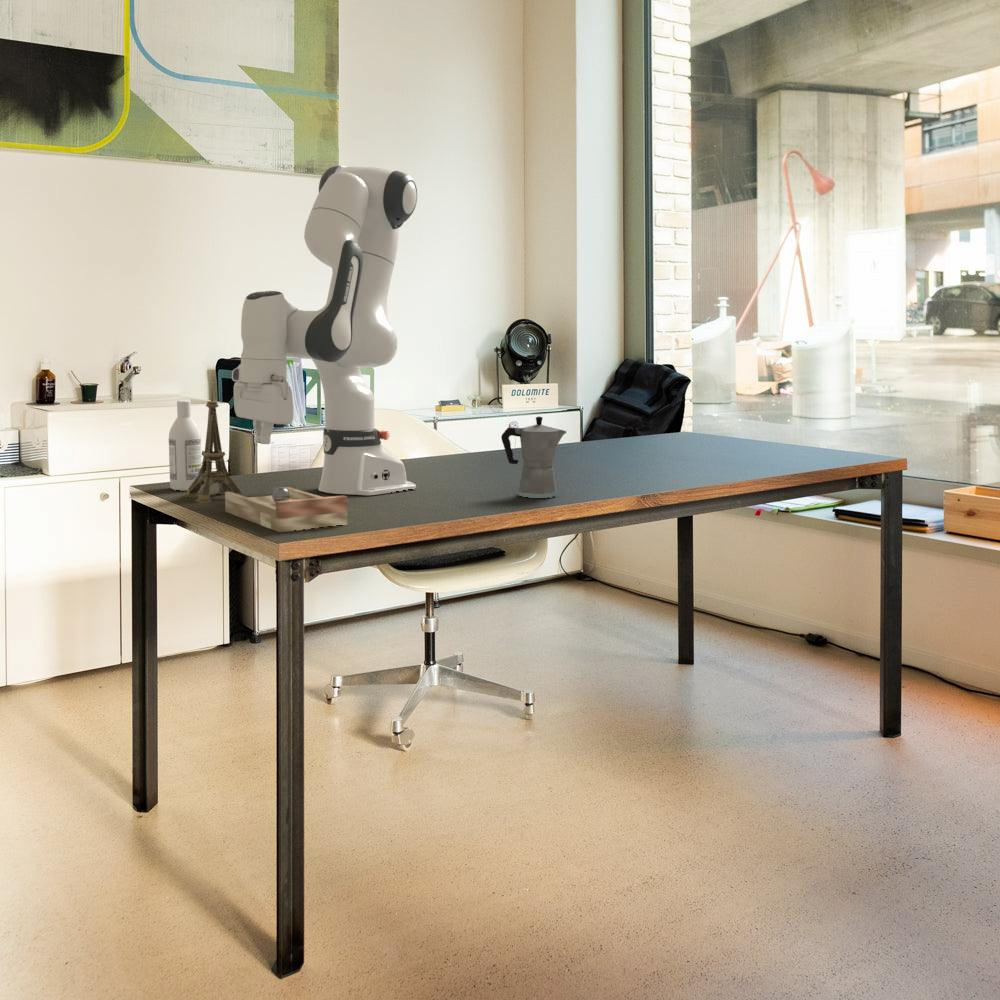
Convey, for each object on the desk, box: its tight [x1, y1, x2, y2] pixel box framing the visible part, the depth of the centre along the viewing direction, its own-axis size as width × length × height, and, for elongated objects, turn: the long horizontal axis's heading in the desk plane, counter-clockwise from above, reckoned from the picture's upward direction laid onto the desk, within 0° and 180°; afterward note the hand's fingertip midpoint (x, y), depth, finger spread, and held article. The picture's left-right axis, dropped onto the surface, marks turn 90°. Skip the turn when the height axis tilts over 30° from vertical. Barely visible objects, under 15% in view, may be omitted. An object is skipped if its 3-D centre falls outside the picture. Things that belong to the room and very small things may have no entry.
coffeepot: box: [501, 416, 567, 494], centre depth 245 cm, size 15×9×18 cm, turn 109°
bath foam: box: [168, 399, 203, 492], centre depth 245 cm, size 7×7×20 cm
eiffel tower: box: [182, 381, 243, 504], centre depth 234 cm, size 11×11×25 cm
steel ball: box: [271, 486, 290, 503], centre depth 214 cm, size 4×4×4 cm
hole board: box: [224, 486, 348, 533], centre depth 213 cm, size 14×25×6 cm, turn 37°
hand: (263, 443), depth 217 cm, fingers closed
